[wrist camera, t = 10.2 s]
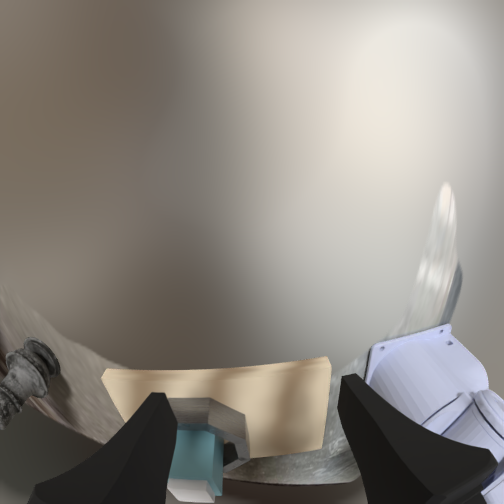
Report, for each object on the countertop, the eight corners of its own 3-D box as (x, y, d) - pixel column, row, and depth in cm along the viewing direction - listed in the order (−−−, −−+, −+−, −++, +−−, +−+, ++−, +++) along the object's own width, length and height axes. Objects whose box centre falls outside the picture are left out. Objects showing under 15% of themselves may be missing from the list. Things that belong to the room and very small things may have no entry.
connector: (216, 413, 22) (211, 488, 14) (224, 437, 23) (221, 504, 15) (173, 414, 22) (158, 484, 14) (185, 437, 23) (175, 502, 15)
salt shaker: (70, 381, 22) (22, 460, 11) (36, 375, 22) (-12, 440, 11) (48, 336, 21) (-18, 413, 9) (15, 332, 21) (-46, 395, 9)
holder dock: (326, 356, 22) (342, 391, 18) (319, 438, 26) (326, 468, 21) (106, 368, 22) (88, 399, 17) (149, 446, 25) (142, 474, 21)
